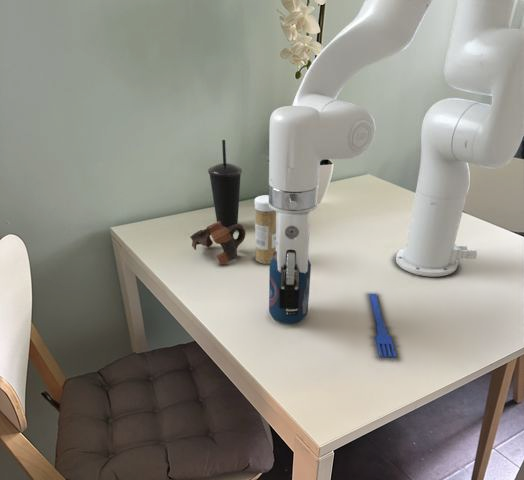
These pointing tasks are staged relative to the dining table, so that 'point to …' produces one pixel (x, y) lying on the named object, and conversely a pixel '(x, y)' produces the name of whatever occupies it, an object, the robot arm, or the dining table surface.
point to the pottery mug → (220, 239)
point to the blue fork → (381, 330)
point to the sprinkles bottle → (265, 230)
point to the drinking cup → (225, 190)
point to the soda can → (274, 294)
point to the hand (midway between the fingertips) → (289, 295)
